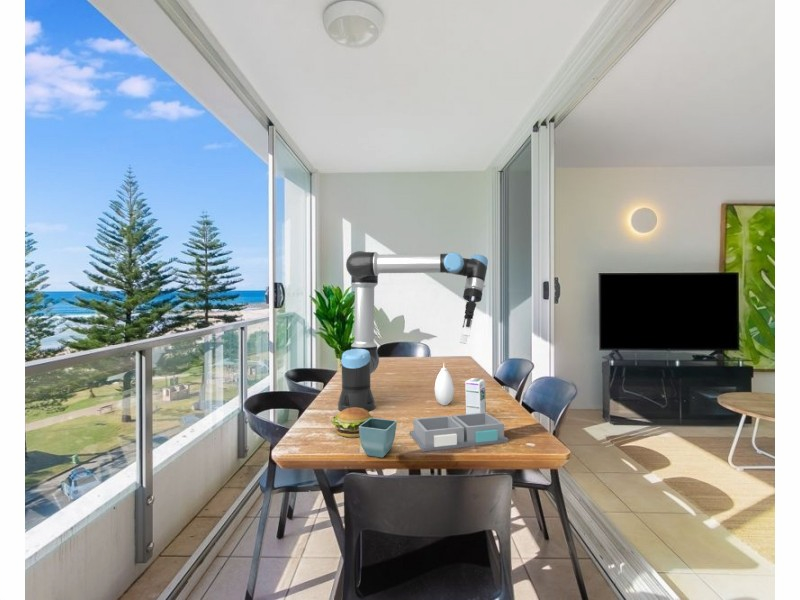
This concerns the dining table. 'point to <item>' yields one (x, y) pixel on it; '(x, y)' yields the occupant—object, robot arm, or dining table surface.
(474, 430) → the sorting bin tray
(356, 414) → the food
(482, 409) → the syrup box
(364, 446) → the flower pot
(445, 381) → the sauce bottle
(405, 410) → the dining table surface
